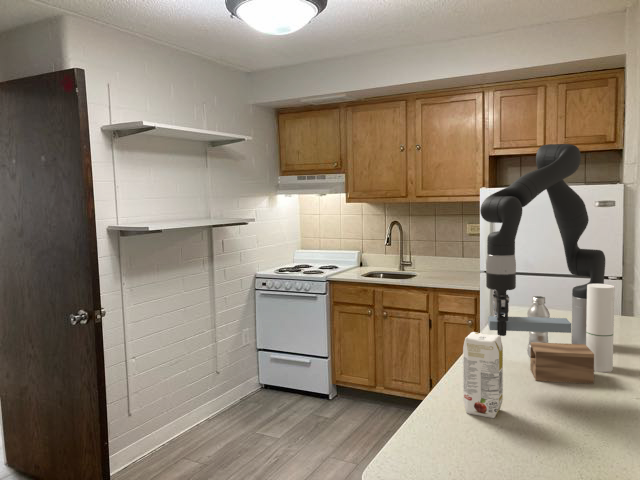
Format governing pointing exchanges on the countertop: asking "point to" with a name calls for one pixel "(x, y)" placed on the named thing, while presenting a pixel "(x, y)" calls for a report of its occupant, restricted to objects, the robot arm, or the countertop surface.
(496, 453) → the countertop surface
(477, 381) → the juice carton
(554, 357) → the brown box
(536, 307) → the plastic bottle
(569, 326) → the cover plate
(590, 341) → the cylindrical container
